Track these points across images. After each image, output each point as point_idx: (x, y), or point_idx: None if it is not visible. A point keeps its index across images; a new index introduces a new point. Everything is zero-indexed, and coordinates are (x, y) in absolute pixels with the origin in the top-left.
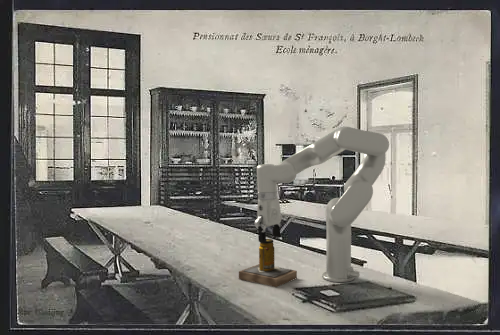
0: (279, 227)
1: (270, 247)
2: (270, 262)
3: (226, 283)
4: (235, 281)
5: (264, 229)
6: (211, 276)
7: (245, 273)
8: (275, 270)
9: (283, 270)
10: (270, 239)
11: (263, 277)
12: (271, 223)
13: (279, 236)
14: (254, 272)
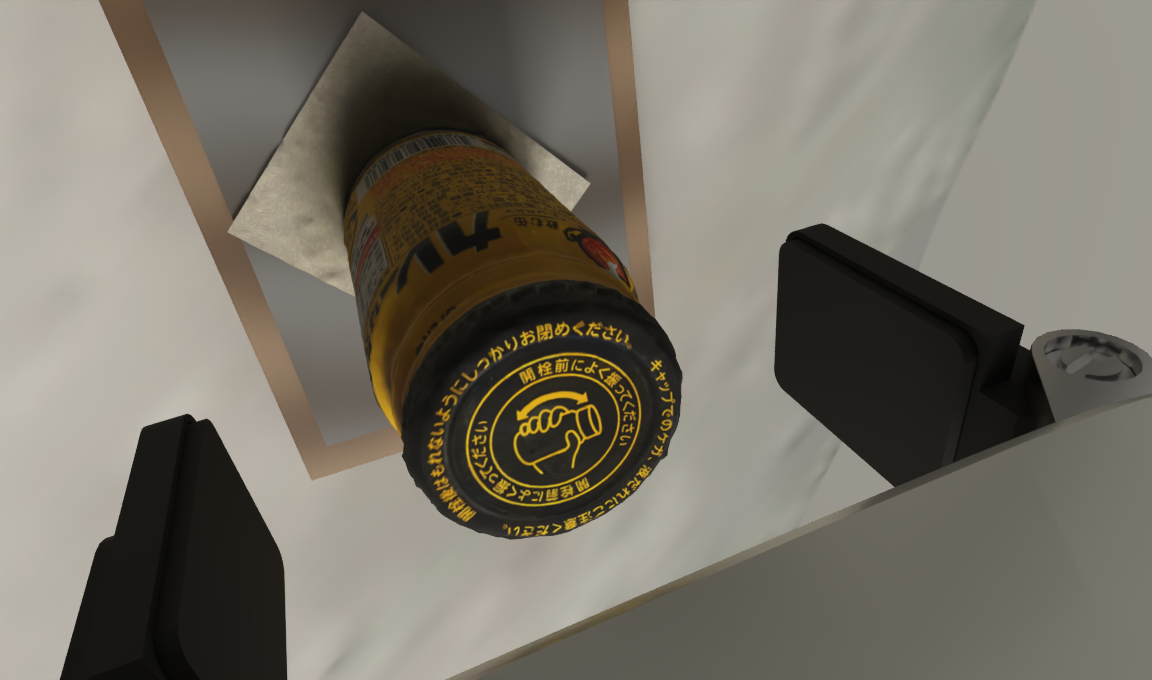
0: (136, 655)
1: (545, 243)
2: (491, 156)
3: (770, 298)
4: (693, 298)
5: (1092, 390)
6: (710, 491)
7: (650, 294)
8: (386, 115)
9: (279, 45)
10: (451, 438)
11: (630, 57)
12: (1127, 502)
13: (194, 421)
14: (615, 228)
